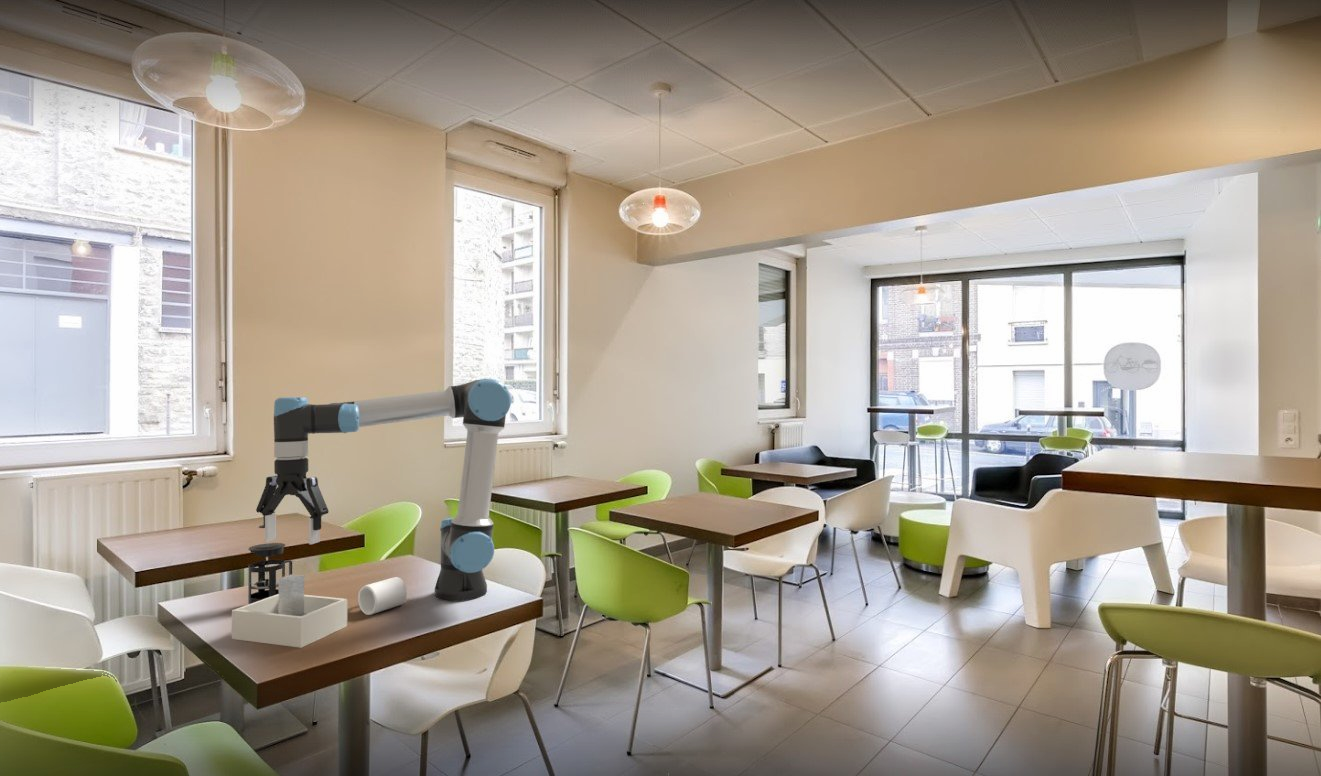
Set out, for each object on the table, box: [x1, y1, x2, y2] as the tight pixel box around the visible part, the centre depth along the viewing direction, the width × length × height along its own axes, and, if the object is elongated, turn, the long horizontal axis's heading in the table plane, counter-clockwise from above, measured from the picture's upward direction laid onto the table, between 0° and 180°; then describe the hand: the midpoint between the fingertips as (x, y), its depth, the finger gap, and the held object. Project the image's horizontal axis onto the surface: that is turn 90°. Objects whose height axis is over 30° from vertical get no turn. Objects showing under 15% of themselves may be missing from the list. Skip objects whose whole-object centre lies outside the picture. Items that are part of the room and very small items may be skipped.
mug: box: [357, 576, 408, 616], centre depth 184 cm, size 12×10×8 cm
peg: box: [278, 573, 305, 616], centre depth 165 cm, size 4×4×14 cm
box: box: [231, 594, 348, 649], centre depth 165 cm, size 21×15×7 cm
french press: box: [247, 524, 293, 605], centre depth 187 cm, size 12×9×23 cm
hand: (292, 541), depth 165 cm, fingers open, 13 cm apart
